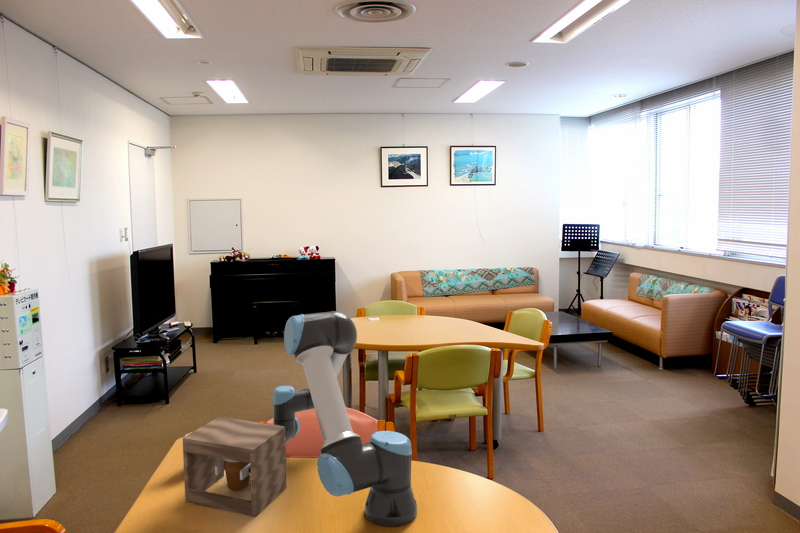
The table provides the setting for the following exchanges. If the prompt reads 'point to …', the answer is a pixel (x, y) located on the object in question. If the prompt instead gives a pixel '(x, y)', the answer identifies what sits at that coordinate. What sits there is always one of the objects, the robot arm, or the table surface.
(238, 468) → the disposable coffee cup
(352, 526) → the table surface
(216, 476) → the walnut cubby
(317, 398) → the robot arm
